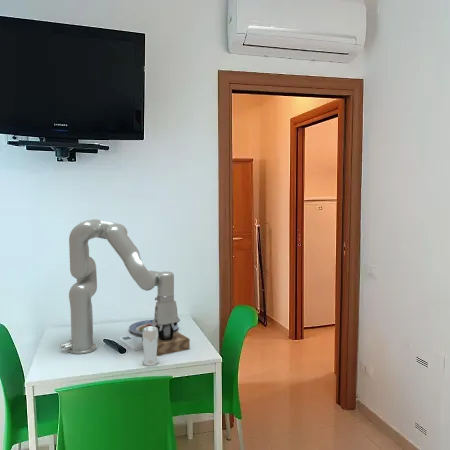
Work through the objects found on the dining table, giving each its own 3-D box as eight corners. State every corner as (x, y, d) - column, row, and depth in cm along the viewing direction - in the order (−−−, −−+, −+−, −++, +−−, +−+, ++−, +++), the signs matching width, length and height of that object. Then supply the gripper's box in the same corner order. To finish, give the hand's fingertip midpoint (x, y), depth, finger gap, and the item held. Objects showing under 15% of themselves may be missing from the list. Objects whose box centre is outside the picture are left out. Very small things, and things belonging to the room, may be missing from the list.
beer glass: (159, 360, 196) (159, 326, 194) (157, 366, 189) (157, 331, 188) (143, 360, 195) (143, 326, 194) (141, 366, 188) (140, 331, 187)
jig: (153, 356, 199) (153, 344, 199) (143, 348, 210) (142, 336, 209) (189, 349, 209) (189, 337, 209) (177, 341, 219) (177, 330, 219)
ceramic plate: (172, 321, 255) (172, 316, 254) (183, 335, 230) (183, 329, 230) (126, 325, 246) (126, 320, 246) (132, 340, 222) (132, 334, 222)
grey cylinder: (163, 343, 206) (163, 326, 205) (159, 341, 210) (159, 324, 209) (172, 342, 208) (172, 325, 208) (168, 339, 212) (168, 322, 211)
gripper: (152, 302, 200) (152, 343, 201) (185, 298, 209) (185, 336, 210) (145, 299, 206) (145, 338, 208) (178, 295, 215) (178, 332, 217)
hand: (165, 337), depth 209 cm, fingers closed on grey cylinder, 4 cm apart
